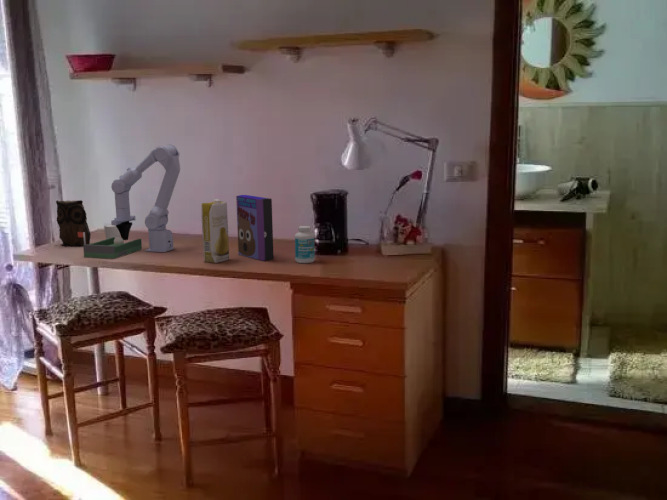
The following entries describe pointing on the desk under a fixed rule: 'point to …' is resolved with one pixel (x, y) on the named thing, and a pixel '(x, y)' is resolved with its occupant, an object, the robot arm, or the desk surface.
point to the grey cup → (111, 231)
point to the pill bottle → (304, 245)
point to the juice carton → (215, 231)
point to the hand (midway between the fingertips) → (125, 239)
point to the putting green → (109, 248)
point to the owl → (72, 223)
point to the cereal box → (255, 227)
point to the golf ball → (118, 241)
